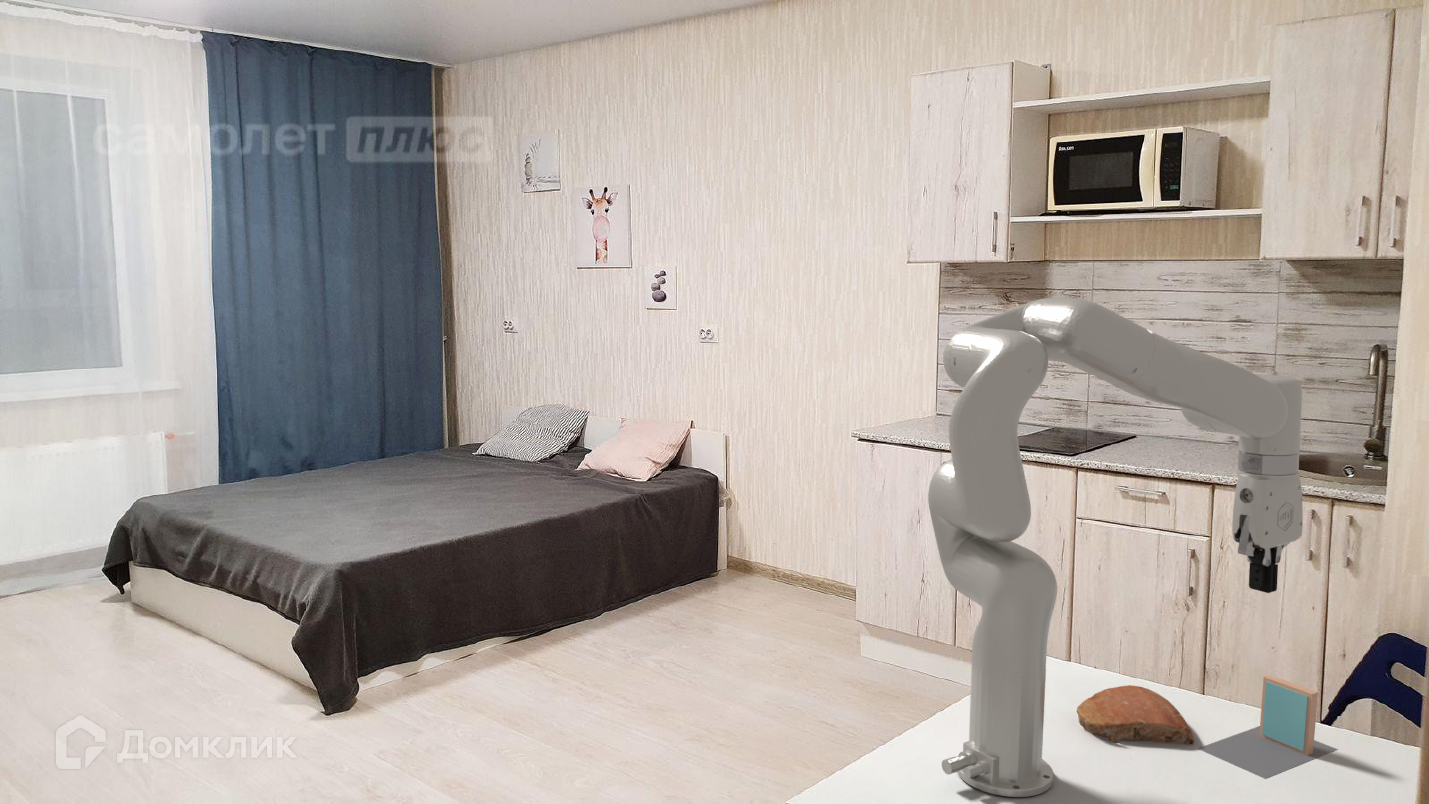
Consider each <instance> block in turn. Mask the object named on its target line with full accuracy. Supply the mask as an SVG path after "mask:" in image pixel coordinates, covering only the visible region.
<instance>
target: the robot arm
mask: <svg viewBox="0 0 1429 804" xmlns="http://www.w3.org/2000/svg"><path fill="white" fill-rule="evenodd" d="M943 351H944V352H943V355H942V359H943V360H942V362H943V363H942V364H943V368H944V371H945V373H946V375H947V376H948V377H949V379H950V380H951V381H952V382H953V383H954V384H956V385H957V386H959V387H961V388H963V389H962V390H961V393H960V394H959V396H958V399H957V400H956V402H955V404H954V406H953V409H952V412H951V415H950V418H949V424H948V442H949V447H950V453H951V459H949V460H947V461H945V462H944V463H941V465H939V467H938V468H937V470H936V471H935V472H934V473H933V475H932V477H931V478H930V479H931V480H930V483H929V486H928V492H927V493H928V494H927V501H928V509H929V514H930V518H931V523H932V527H933V533H934V537H935V541H936V546H937V550H938V555H939V559H940V562H941V567H942V569H943V572H944V575H945V577H946V579H947V581H948V583H949V584H950V585H951V586H952V587H953V588H954V589H955V590H956V591H957V592H959V593H960V594H962V596H964V597H965V598H968V599H969V600H971V601H973V602H975V603H976V604H977V605H979V606H980V607H981V608H982V611H981V612H982V613H981V615H980V616H981V617H980V619H979V622H977V626H976V628H975V630H974V634H973V638H972V645H971V675H970V700H969V703H970V704H969V707H970V708H969V730H968V731H969V732H968V734H969V735H968V741H965V742H963V746H962V747H963V748H962V751H960V752H959V754H958V755H956V756H952V757H949V758H946V759H943V760H942V761H941V769H942V771H943V772H944V774H945V775H952V774H956V773H957V774H958V776H959V777H960V778H961V780H963V781H964V782H965V783H967V785H970V786H971V787H973V788H975V789H977V790H979V791H982V792H984V793H988V794H991V795H996V796H1000V797H1001V796H1002V797H1010V798H1026V797H1032V796H1037V795H1041V794H1043V793H1045V792H1046V791H1048V790H1049V789H1051V787H1052V786H1053V783H1054V771H1053V768H1052V767H1051V765H1050V764H1049V763H1048V762H1047V761H1045V760H1044V759H1043V745H1044V742H1043V741H1044V724H1045V723H1044V722H1045V721H1044V719H1045V702H1046V701H1045V698H1046V680H1047V676H1046V675H1047V655H1048V639H1049V632H1050V631H1049V629H1050V625H1051V621H1052V617H1053V613H1054V609H1055V605H1056V602H1057V597H1058V596H1057V595H1058V582H1057V579H1056V576H1055V573H1054V571H1053V569H1052V567H1051V565H1049V563H1048V562H1047V561H1046V560H1045V559H1044V558H1043V557H1042V556H1041V555H1040V554H1038V553H1036V552H1034V551H1033V550H1031V549H1029V548H1027V547H1025V546H1022V545H1020V544H1018V543H1016V542H1014V540H1016V539H1018V538H1020V537H1021V536H1023V535H1024V534H1025V533H1026V531H1027V529H1028V527H1029V525H1030V522H1031V517H1032V510H1031V509H1032V506H1031V499H1030V495H1029V489H1028V486H1027V485H1028V484H1027V480H1026V476H1025V470H1024V465H1023V461H1022V456H1021V451H1020V444H1019V437H1018V436H1019V435H1018V427H1019V426H1018V425H1019V422H1020V417H1021V415H1022V412H1023V411H1024V409H1025V407H1026V405H1027V404H1028V403H1029V400H1030V399H1031V398H1032V396H1033V395H1035V394H1036V392H1037V390H1038V389H1039V387H1040V386H1041V385H1042V384H1043V382H1044V380H1045V378H1046V375H1047V372H1048V368H1049V361H1052V362H1058V363H1064V364H1067V365H1070V366H1071V367H1074V368H1076V369H1078V370H1081V371H1083V372H1085V373H1087V374H1089V375H1092V376H1094V377H1096V378H1098V379H1099V380H1102V381H1104V382H1106V383H1108V384H1110V385H1112V386H1114V387H1116V388H1118V389H1119V390H1122V391H1123V392H1126V393H1128V394H1130V395H1133V396H1135V397H1137V398H1141V399H1145V400H1147V401H1151V402H1154V403H1159V404H1163V405H1167V406H1173V407H1177V408H1180V411H1181V413H1182V415H1183V417H1184V418H1185V419H1186V420H1187V421H1188V422H1189V423H1191V424H1192V425H1193V426H1195V427H1197V428H1200V429H1204V430H1207V431H1213V432H1216V433H1222V434H1229V435H1232V436H1233V435H1234V436H1239V437H1238V452H1237V453H1238V454H1237V455H1238V459H1237V474H1238V477H1237V481H1236V486H1235V492H1234V501H1233V508H1232V520H1231V523H1232V525H1231V526H1232V529H1231V530H1232V531H1231V532H1232V539H1233V540H1234V542H1235V543H1238V548H1237V553H1238V554H1239V555H1243V556H1246V558H1247V562H1249V570H1248V572H1249V573H1248V588H1249V589H1251V590H1255V591H1258V592H1262V593H1266V594H1270V593H1272V592H1276V591H1277V589H1278V576H1279V575H1278V574H1279V563H1280V562H1281V559H1282V552H1283V550H1284V548H1285V547H1287V546H1288V545H1289V544H1291V543H1294V542H1296V541H1298V540H1299V539H1300V538H1302V535H1303V518H1304V516H1303V515H1304V514H1303V512H1304V510H1303V493H1302V492H1303V491H1302V481H1301V476H1300V471H1299V468H1300V464H1299V463H1300V447H1301V445H1300V444H1301V428H1302V427H1301V423H1302V422H1301V421H1302V404H1303V387H1302V384H1301V381H1299V379H1297V378H1295V377H1292V376H1285V375H1276V374H1275V375H1274V374H1273V375H1272V374H1271V375H1270V374H1266V375H1265V374H1264V375H1263V374H1262V375H1257V374H1255V373H1253V372H1251V371H1249V370H1247V369H1245V368H1243V367H1240V366H1238V365H1236V364H1233V363H1231V362H1228V361H1226V360H1223V359H1221V358H1219V357H1216V356H1212V355H1211V354H1208V353H1205V352H1202V351H1199V350H1197V349H1194V348H1193V347H1190V346H1188V345H1185V344H1182V343H1179V342H1178V341H1177V342H1176V341H1174V340H1171V339H1168V338H1165V337H1163V336H1162V335H1160V334H1157V333H1156V332H1153V331H1151V330H1150V329H1147V328H1145V327H1143V326H1142V325H1139V324H1138V323H1136V322H1134V321H1132V320H1130V319H1128V318H1126V317H1124V316H1122V315H1120V314H1119V313H1117V312H1114V311H1113V310H1111V309H1109V308H1107V307H1105V306H1103V305H1101V304H1098V303H1096V302H1093V301H1092V300H1091V301H1090V300H1087V299H1079V298H1057V297H1056V298H1054V297H1049V298H1048V297H1047V298H1040V299H1036V300H1033V301H1029V302H1027V303H1024V304H1022V305H1019V306H1017V307H1014V308H1011V309H1008V310H1006V311H1003V312H1001V313H999V314H995V315H993V316H990V317H988V318H985V319H983V320H980V321H977V322H974V323H972V324H969V325H967V326H965V327H963V328H961V329H960V330H958V331H957V332H955V333H954V334H953V335H952V337H950V338H949V340H948V342H947V343H946V345H945V348H944V350H943Z"/></svg>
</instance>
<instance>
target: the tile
mask: <svg viewBox="0 0 1429 804" xmlns="http://www.w3.org/2000/svg"><path fill="white" fill-rule="evenodd" d="M1262 678H1263V679H1262V680H1263V682H1262V692H1261V707H1260V708H1261V709H1260V720H1259V721H1260V723H1259V726H1260V733H1259V736H1260V737H1263V738H1265V739H1268V740H1270V741H1272V742H1275V743H1277V744H1280V745H1282V746H1285V747H1287V748H1289V749H1292V750H1294V751H1297V752H1299V753H1302V754H1304V755H1307V756H1308V755H1310V754H1313V748H1314V740H1315V733H1316V721H1317V707H1318V698H1319V692H1318V691H1315V690H1313V689H1310V688H1308V687H1304V686H1301V685H1299V684H1296V683H1293V682H1290V681H1287V680H1284V679H1282V678H1279V677H1277V676H1273V675H1270V674H1268V675H1265V676H1263V677H1262Z"/></svg>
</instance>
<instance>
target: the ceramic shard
mask: <svg viewBox="0 0 1429 804" xmlns="http://www.w3.org/2000/svg"><path fill="white" fill-rule="evenodd" d="M1076 714H1077V717H1078V722H1079V724H1080V726H1081V727H1083V730H1085V731H1086V732H1088V733H1090V734H1093V735H1094V736H1097V737H1100V738H1104V739H1106V740H1107V741H1109V742H1110V743H1112V744H1119V743H1120V742H1139V741H1149V742H1150V741H1151V742H1155V743H1175V744H1181V745H1187V746H1188V745H1194V744H1195V741H1196V738H1195V736H1194V734H1193V731H1192V730H1191V728H1190V727H1189V724H1188V723H1187V722H1186V719H1185V718H1184V716H1183V715H1182V714H1181V713H1180V711H1178V709H1177V708H1176V707H1175V706H1174V704H1173V703H1172V702H1170V701H1169V700H1168V699H1166V698H1165V697H1163V696H1162V695H1160V694H1159V693H1157V692H1155V691H1153V690H1151V689H1149V688H1146V687H1144V686H1137V685H1131V684H1130V685H1129V684H1128V685H1120V686H1116V687H1108V688H1106V689H1103V690H1101V691H1098V692H1096V693H1094V694H1093V695H1092V696H1090V697H1088V698H1086V699H1085V700H1084V701H1083V702H1081V703H1080V704H1079V705H1078V706H1077V708H1076Z"/></svg>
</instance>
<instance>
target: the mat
mask: <svg viewBox="0 0 1429 804" xmlns="http://www.w3.org/2000/svg"><path fill="white" fill-rule="evenodd" d="M1259 733H1260V725H1259V726H1256V727H1253V728H1250V729H1247V730H1245V731H1242V732H1238V733H1236V734H1233V735H1231V736H1228V737H1226V738H1222V739H1220V740H1216V741H1215V742H1211V743H1209V744H1206V745H1204V746H1200V747H1197V749H1198V750H1200V751H1202V752H1204V753H1206V754H1207V755H1208V754H1209V755H1211V756H1213V757H1215V758H1218V759H1220V760H1222V761H1225V762H1226V763H1229V764H1231V765H1234V766H1236V767H1238V768H1240V769H1242V770H1245V771H1247V772H1249V773H1251V774H1254V775H1256V776H1258V777H1261V778H1262V779H1264V780H1266V779H1269V778H1272V777H1273V776H1276V775H1278V774H1281V773H1283V772H1286V771H1289V770H1291V769H1294V768H1297V767H1298V766H1300V765H1303V764H1306V763H1307V762H1308V763H1309V762H1311V761H1313V760H1316V759H1319V758H1320V757H1322V756H1323V757H1324V756H1326V755H1328V754H1331V753H1332V752H1335V751H1338V750H1339V749H1338V748H1335V747H1333V746H1330V745H1327V744H1325V743H1323V742H1320V741H1318V740H1316V739H1314V748H1313V754H1310V755H1308V756H1307V755H1304V754H1302V753H1299V752H1297V751H1294V750H1292V749H1289V748H1287V747H1285V746H1282V745H1280V744H1277V743H1275V742H1272V741H1270V740H1268V739H1265V738H1263V737H1260V736H1259Z"/></svg>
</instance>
